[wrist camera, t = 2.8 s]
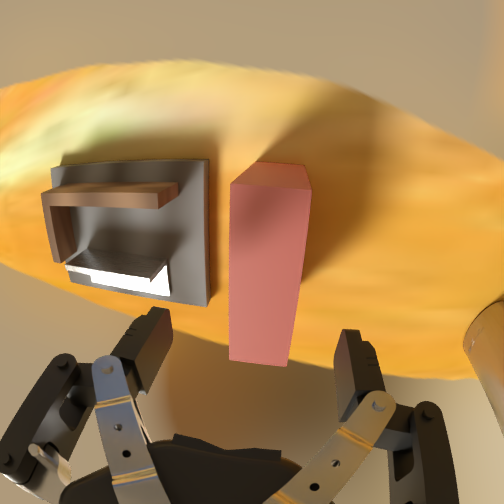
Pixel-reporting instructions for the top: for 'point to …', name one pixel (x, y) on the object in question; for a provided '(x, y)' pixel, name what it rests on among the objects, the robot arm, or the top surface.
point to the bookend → (123, 270)
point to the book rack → (135, 219)
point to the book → (266, 259)
